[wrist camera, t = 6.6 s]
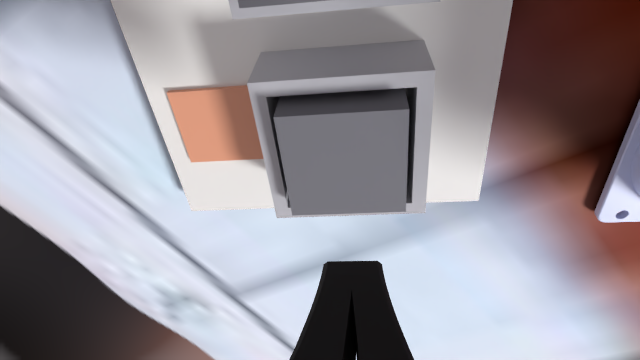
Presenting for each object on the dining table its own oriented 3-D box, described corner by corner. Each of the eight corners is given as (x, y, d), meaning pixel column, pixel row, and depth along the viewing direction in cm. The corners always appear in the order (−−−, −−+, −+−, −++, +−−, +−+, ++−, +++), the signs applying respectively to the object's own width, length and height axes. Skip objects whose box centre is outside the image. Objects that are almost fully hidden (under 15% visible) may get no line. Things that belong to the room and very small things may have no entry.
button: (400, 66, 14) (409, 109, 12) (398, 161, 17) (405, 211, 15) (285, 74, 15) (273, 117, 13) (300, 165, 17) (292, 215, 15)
